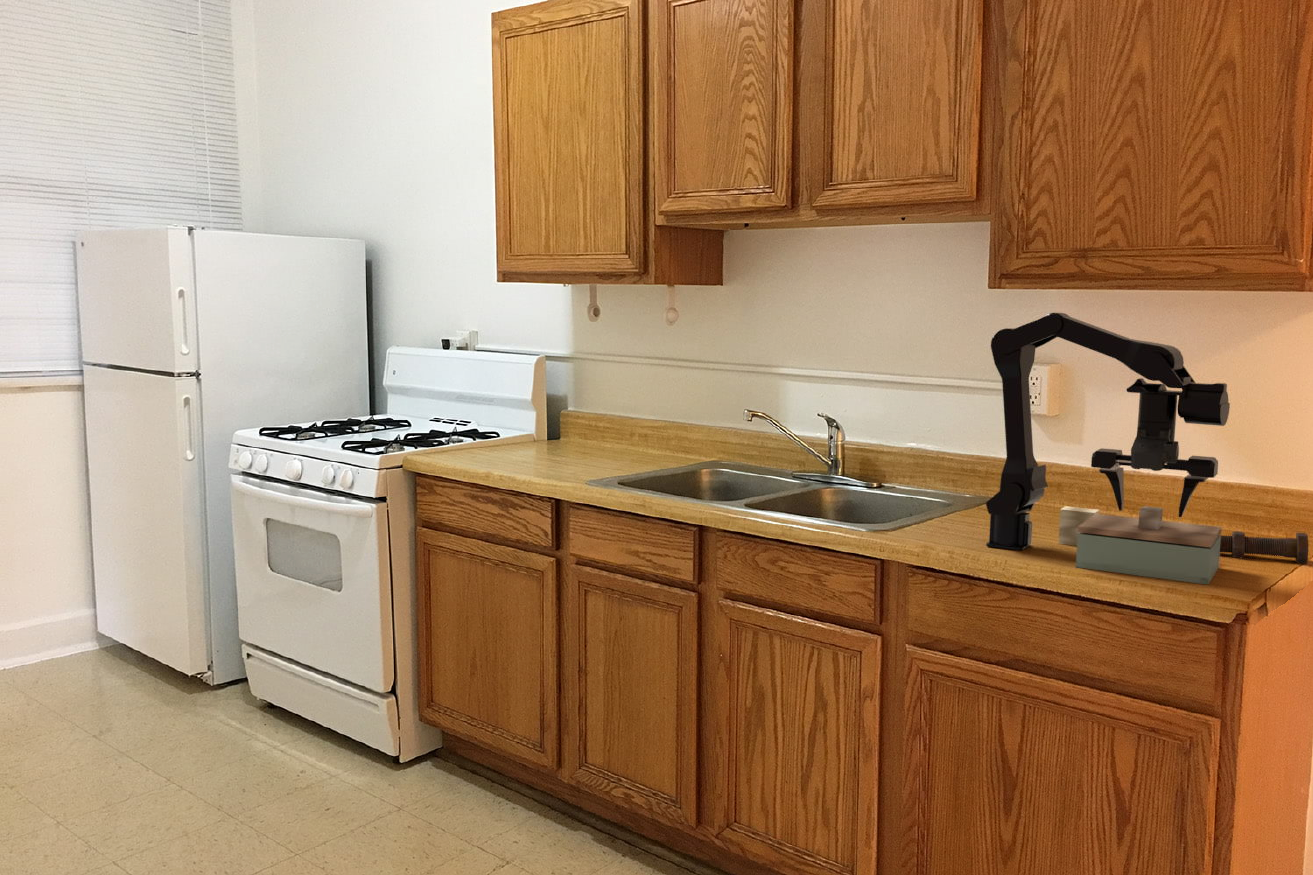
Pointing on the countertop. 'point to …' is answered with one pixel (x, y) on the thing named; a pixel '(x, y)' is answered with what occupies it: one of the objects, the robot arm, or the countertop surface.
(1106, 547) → the grey tray
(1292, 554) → the bolt
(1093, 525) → the lid
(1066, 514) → the block
